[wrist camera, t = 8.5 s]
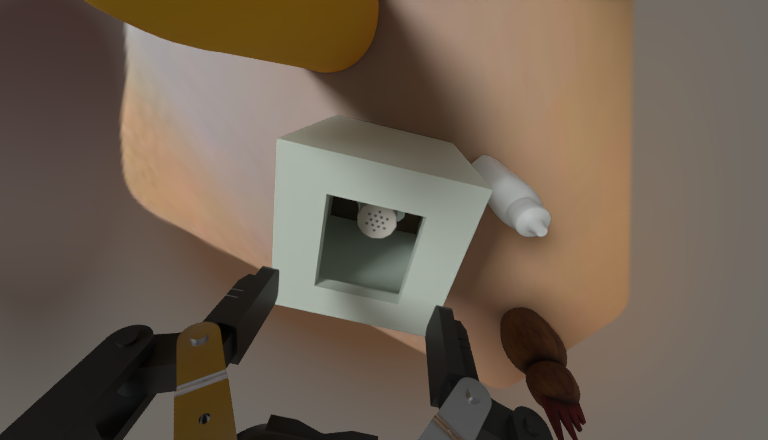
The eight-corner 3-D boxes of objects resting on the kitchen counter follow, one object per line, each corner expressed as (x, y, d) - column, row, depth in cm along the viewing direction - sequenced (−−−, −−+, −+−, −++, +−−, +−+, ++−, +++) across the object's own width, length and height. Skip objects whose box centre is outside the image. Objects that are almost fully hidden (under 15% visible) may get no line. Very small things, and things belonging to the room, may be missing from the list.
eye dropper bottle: (509, 146, 27) (577, 184, 16) (514, 196, 29) (578, 259, 19) (465, 158, 28) (502, 202, 17) (474, 206, 30) (512, 272, 19)
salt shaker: (397, 162, 29) (396, 192, 20) (405, 197, 30) (407, 238, 22) (361, 170, 29) (345, 203, 21) (371, 203, 31) (359, 247, 22)
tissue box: (336, 114, 27) (277, 138, 14) (452, 142, 27) (492, 189, 15) (322, 219, 32) (270, 303, 20) (420, 241, 33) (429, 337, 20)
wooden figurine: (485, 319, 37) (529, 448, 24) (515, 293, 35) (584, 421, 22) (520, 340, 39) (582, 474, 25) (553, 316, 36) (639, 451, 23)
